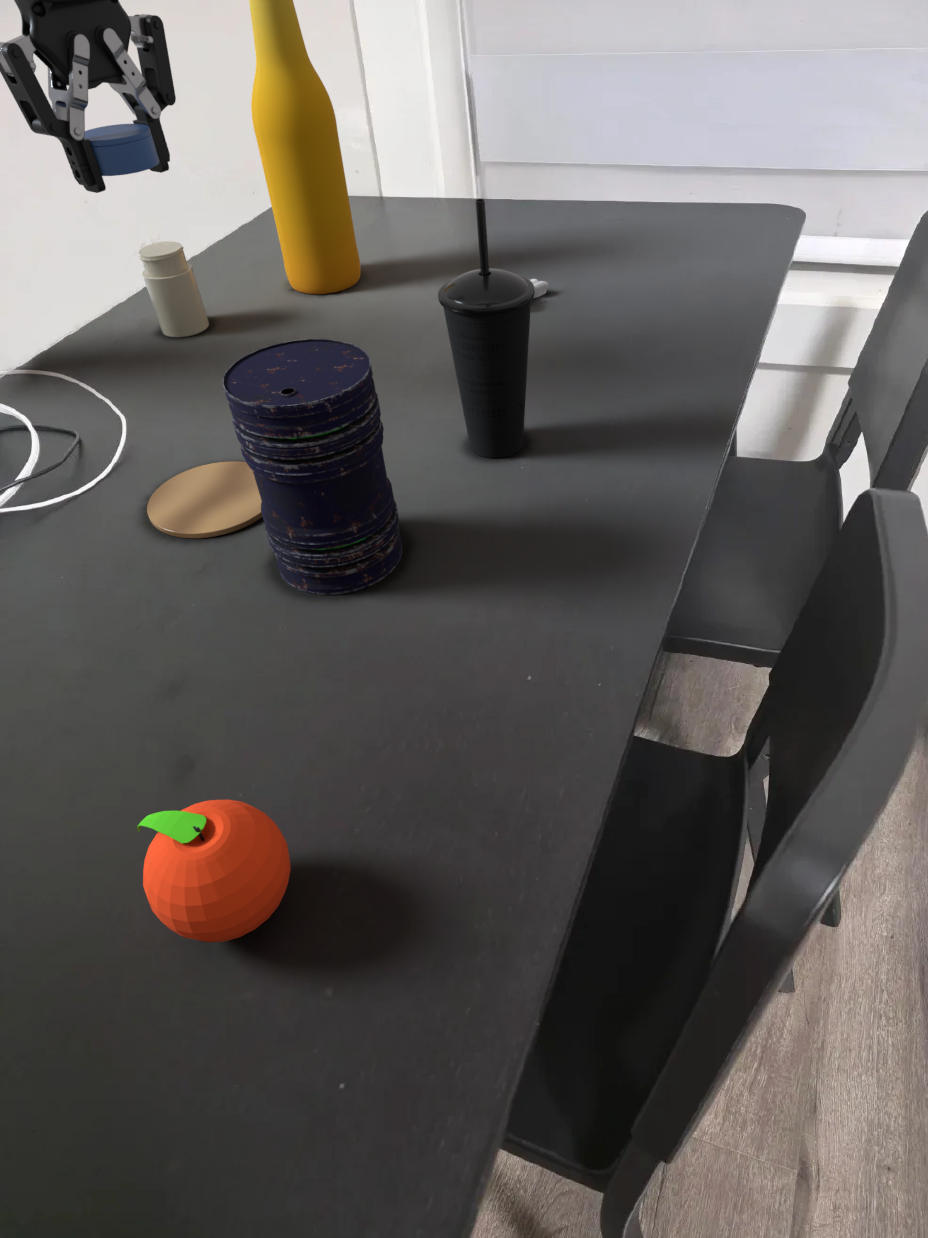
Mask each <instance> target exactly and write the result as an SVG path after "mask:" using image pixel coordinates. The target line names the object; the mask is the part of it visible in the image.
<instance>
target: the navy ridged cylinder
mask: <svg viewBox="0 0 928 1238" xmlns="http://www.w3.org/2000/svg"><path fill="white" fill-rule="evenodd" d="M373 374H374V373H373V368H372V361H371V357H370V356H369V354H368V353H367V352H366V351H365V349H363V348H361V347H359V346H358V345H355V344H353V343H350V342H347V341H343V340H337V339H331V338H330V339H328V338H305V339H304V338H303V339H296V340H289V341H282V342H278V343H274V344H271V345H268V346H264V347H261V348H259V349H257V350H254V351H252V352H250V353H247V354H246V355H244V356H242V357H240V358H239V359H237V360H236V361H235V362H233V363H232V364H231V365H230V366H229V367H228V368H227V370H226V371H225V372H224V375H223V377H222V382H221V383H222V387H223V390H224V393H225V397H226V400H227V401H228V407H229V410H230V413H231V417H232V420H231V421H232V425H233V428H234V432H235V435H236V438H237V441H238V442H239V444H240V451H241V455H242V458H243V459H244V460H245V462H246V463H247V464H248V466H249V467H250V469H252V471H253V474H254V477H255V480H256V484H257V487H258V490H259V494H260V497H261V500H262V502H261V512H262V516H263V517H262V519H263V523H264V527H265V528H264V530H265V533H266V537H267V539H268V543H269V546H270V548H271V550H272V551H273V554H274V557H275V559H276V564H277V567H278V571H279V573H280V574H279V575H280V576H281V577H282V579H283V581H285V582H286V583H287V584H288V585H290V586H291V587H293V588H295V589H297V590H299V591H301V592H304V593H308V594H312V595H313V594H314V595H323V596H324V595H325V596H331V595H333V596H334V595H344V594H349V593H353V592H358V591H361V590H363V589H366V588H368V587H371V586H373V585H374V584H376V583H379V582H380V581H382V580H383V579H385V578H386V577H388V576H389V574H391V573H392V572H393V571H394V570H395V568H396V567H397V566H398V564H399V563H400V561H401V559H402V555H403V544H402V539H401V536H400V526H399V525H400V517H399V512H398V505H397V502H396V500H395V495H394V491H393V485H392V482H391V481H390V478H389V477H388V474H387V469H386V463H385V457H384V451H383V443H384V429H385V428H384V423H383V421H382V420H381V417H382V411H381V406H380V400H379V396H378V393H377V391H376V385H375V381H374V378H373Z"/></svg>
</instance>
